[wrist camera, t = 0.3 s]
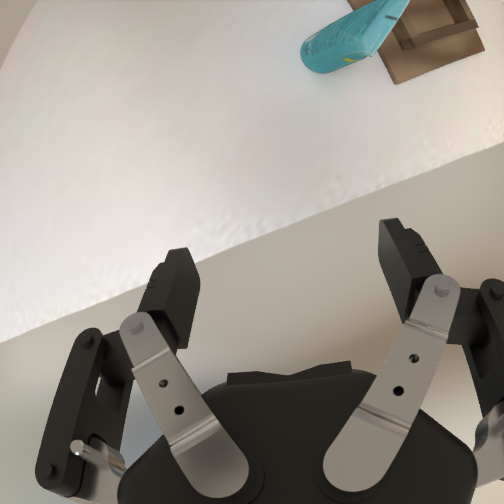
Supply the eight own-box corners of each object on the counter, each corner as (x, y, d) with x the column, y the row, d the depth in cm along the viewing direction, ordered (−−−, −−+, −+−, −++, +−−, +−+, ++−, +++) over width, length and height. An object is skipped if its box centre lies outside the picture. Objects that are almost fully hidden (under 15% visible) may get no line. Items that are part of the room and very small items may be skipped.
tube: (325, 88, 32) (404, 79, 15) (288, 69, 31) (338, 35, 14) (351, 40, 30) (440, 1, 12) (315, 20, 28) (381, -41, 11)
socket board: (322, -34, 25) (332, -48, 20) (422, -53, 21) (438, -63, 17) (394, 84, 32) (412, 83, 28) (480, 50, 28) (500, 49, 24)
